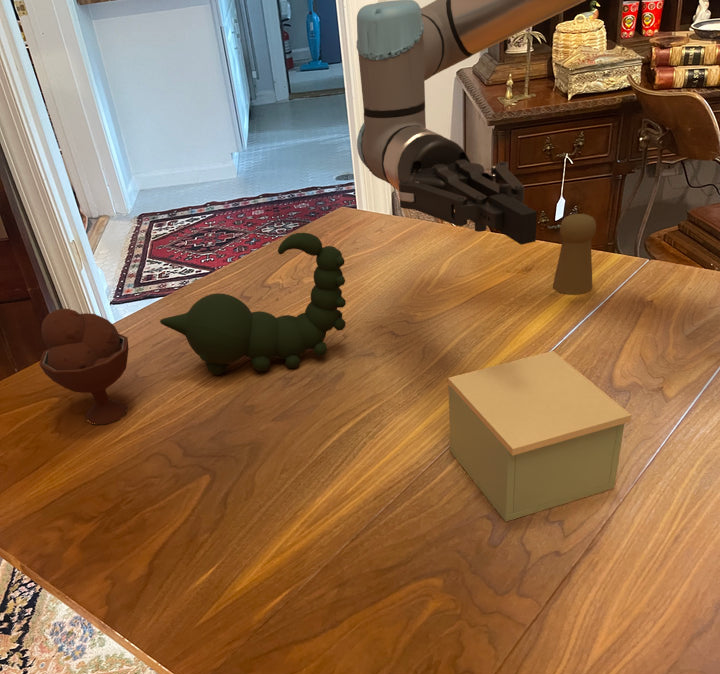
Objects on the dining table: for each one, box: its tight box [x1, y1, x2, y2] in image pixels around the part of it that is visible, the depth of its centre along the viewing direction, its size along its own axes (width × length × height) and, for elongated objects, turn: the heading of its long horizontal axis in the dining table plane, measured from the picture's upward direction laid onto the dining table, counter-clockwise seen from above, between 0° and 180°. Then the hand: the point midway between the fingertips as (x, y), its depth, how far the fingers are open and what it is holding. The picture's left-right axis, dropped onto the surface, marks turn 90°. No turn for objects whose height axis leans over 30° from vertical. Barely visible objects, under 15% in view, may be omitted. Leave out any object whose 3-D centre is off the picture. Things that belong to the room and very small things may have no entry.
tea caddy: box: [448, 384, 625, 522], centre depth 78 cm, size 14×13×9 cm
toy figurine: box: [159, 232, 347, 376], centre depth 99 cm, size 9×19×25 cm
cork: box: [552, 213, 597, 295], centre depth 112 cm, size 6×6×11 cm
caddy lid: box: [447, 350, 632, 455], centre depth 74 cm, size 14×13×1 cm
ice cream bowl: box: [38, 308, 130, 425], centre depth 93 cm, size 11×11×15 cm
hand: (528, 228), depth 66 cm, fingers closed
